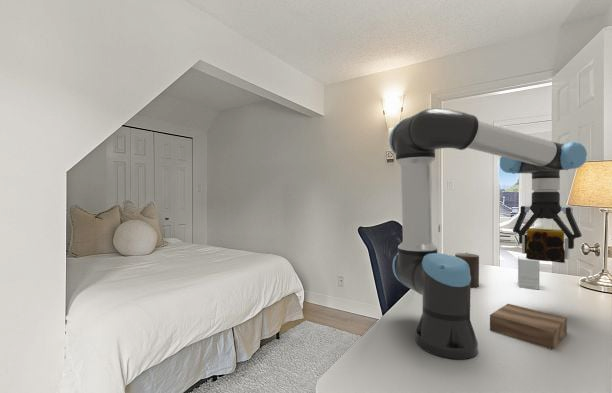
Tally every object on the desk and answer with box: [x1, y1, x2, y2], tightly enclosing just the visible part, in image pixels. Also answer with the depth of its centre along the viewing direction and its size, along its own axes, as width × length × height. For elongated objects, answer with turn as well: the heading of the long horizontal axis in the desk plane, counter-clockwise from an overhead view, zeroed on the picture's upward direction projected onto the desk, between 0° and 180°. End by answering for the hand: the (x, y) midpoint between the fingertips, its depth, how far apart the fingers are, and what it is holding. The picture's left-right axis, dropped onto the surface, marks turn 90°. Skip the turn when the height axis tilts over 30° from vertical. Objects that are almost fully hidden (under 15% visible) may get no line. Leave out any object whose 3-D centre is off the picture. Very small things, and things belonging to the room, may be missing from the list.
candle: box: [525, 227, 566, 264], centre depth 103 cm, size 10×10×10 cm
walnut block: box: [489, 303, 568, 350], centre depth 90 cm, size 15×15×5 cm
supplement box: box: [517, 256, 540, 290], centre depth 135 cm, size 7×7×13 cm
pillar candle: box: [454, 252, 480, 289], centre depth 137 cm, size 10×10×15 cm
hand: (544, 255), depth 103 cm, fingers closed on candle, 11 cm apart
